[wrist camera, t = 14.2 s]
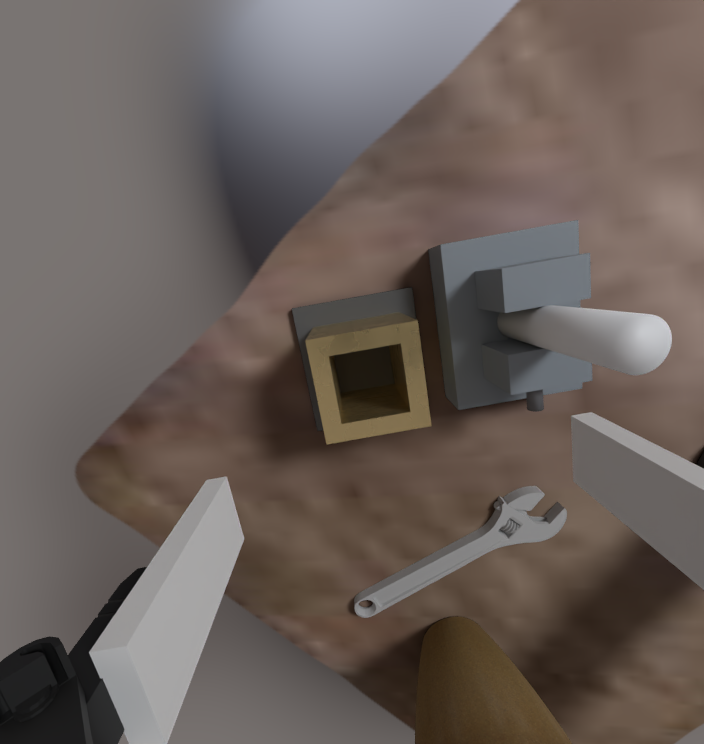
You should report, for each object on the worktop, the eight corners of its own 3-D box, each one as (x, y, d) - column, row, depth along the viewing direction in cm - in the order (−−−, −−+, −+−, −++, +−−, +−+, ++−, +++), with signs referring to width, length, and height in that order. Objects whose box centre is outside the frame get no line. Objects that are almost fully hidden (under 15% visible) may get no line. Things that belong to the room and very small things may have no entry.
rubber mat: (426, 409, 36) (428, 411, 36) (317, 428, 36) (317, 431, 36) (410, 287, 33) (412, 287, 33) (292, 308, 33) (291, 308, 33)
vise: (555, 377, 36) (741, 455, 19) (445, 396, 36) (537, 491, 19) (549, 227, 33) (767, 168, 16) (428, 249, 33) (520, 212, 16)
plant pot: (539, 639, 43) (652, 836, 28) (444, 707, 45) (499, 927, 30) (462, 563, 41) (540, 736, 25) (363, 639, 42) (378, 843, 27)
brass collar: (410, 394, 35) (431, 425, 27) (329, 409, 35) (326, 444, 27) (399, 312, 33) (417, 320, 25) (312, 327, 33) (305, 340, 25)
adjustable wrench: (361, 610, 42) (362, 624, 41) (334, 569, 41) (334, 581, 39) (562, 519, 40) (572, 529, 38) (542, 472, 39) (551, 481, 37)
